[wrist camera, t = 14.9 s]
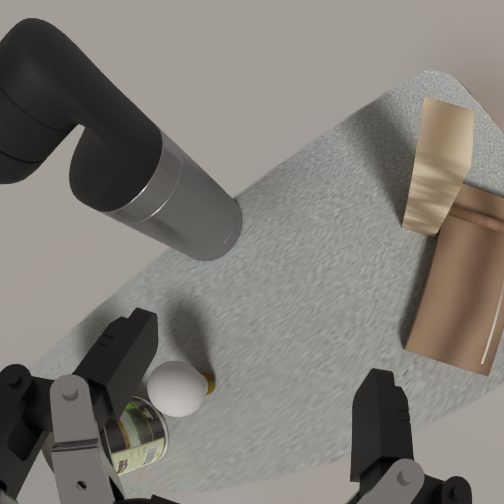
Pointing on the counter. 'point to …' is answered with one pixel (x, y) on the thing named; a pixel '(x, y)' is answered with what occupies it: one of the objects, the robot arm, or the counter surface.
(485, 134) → the counter surface
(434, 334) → the walnut board
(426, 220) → the l-shaped wooden block
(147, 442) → the coffee can
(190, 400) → the light bulb
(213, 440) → the counter surface
